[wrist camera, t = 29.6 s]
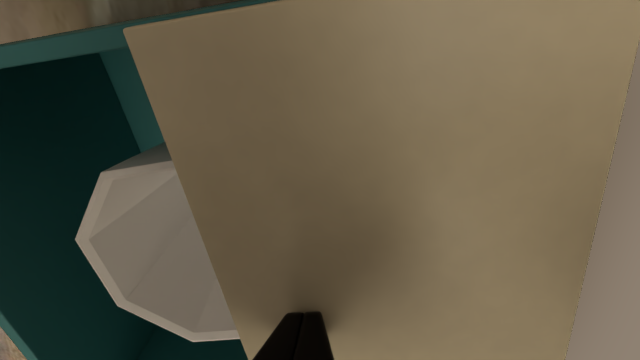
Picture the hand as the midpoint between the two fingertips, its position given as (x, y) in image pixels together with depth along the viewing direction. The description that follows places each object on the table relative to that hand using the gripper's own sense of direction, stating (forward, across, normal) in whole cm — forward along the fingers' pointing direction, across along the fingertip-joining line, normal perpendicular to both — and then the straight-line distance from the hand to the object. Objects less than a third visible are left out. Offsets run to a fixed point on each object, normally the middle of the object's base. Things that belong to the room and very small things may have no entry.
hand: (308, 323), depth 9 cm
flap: (0, -2, 0) cm, 2 cm away
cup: (+10, +2, 0) cm, 10 cm away
